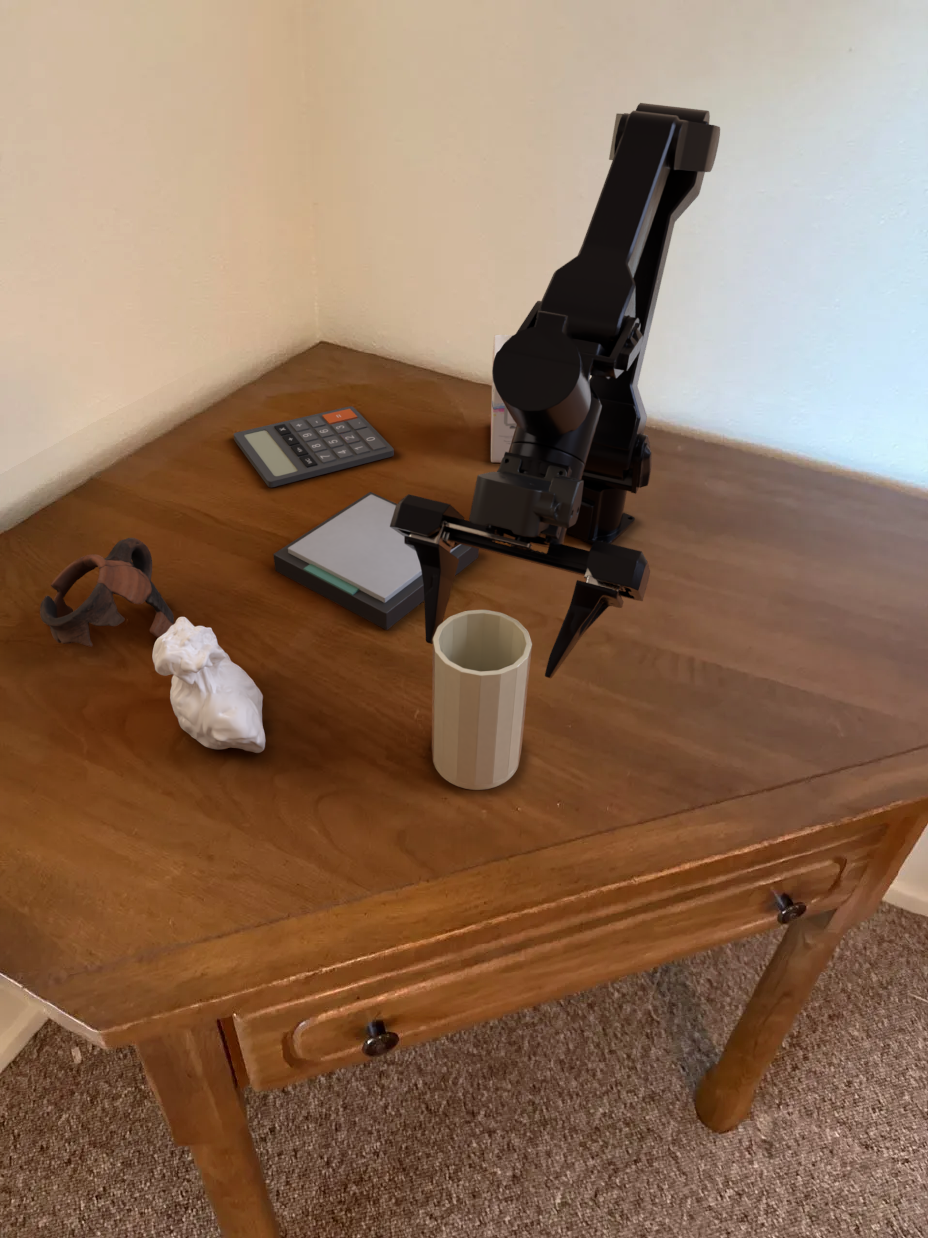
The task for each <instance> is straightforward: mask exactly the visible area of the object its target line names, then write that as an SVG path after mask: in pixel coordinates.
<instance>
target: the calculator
mask: <svg viewBox="0 0 928 1238" xmlns="http://www.w3.org/2000/svg"><path fill="white" fill-rule="evenodd" d="M233 440H234V442H235V443H236V445H237V447H239V449H240V450H241V452H242V453H243V454H244V456H245V457H246V458H247V460H248V461H249V463H250V464H251V465H252V467H253V468H254V469H255V471H256V472H257V473H258V475H259V476H260V478H261V479H262V480H263V482H264V483H265V485H266V486H267V487H268V488H276V487H280V486H283V485H286V484H292V483H295V482H298V481H299V482H300V481H302V480H307V479H310V478H314V477H318V476H322V475H326V474H330V473H333V472H337V471H341V470H345V469H349V468H353V467H357V466H361V465H364V464H368V463H369V464H370V463H373V462H376V461H380V460H383V459H388V458H391V457H394V455H395V449H394V448H393V447H392V445H391V444H390V443H389V442H388V441H387V440H386V439H385V438H384V437H383V436H382V435H381V434H380V433H379V432H378V430H376V429H375V427H373V426H372V424H371V423H370V422H369V421H368V420H366V418H365V417H364V416H363V415H362V414H361V413H360V412H359V411H358V410H357V409H356V408H355V407H354V406H352V405H351V406H345V407H341V408H335V409H332V410H328V411H324V412H320V413H315V414H311V415H307V416H302V417H298V418H293V419H288V420H285V421H281V422H276V423H275V422H274V423H271V424H267V425H263V426H259V427H254V428H249V429H245V430H241V431H237V432H234V433H233Z"/></svg>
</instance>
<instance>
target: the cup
mask: <svg viewBox="0 0 928 1238" xmlns="http://www.w3.org/2000/svg"><path fill="white" fill-rule="evenodd" d="M532 649H533V642H532V638H531V635H530V632H529V631H528V629H527V628H525V626H524V625H523V624H522V623H521V622H520V621H519V620H518V619H516V618H514V617H512V616H510V615H507V614H506V613H504V612H501V611H496V610H495V611H494V610H489V609H472V610H471V609H470V610H464V611H461V612H458V613H455V614H452V615H450V616H448V617H447V618H446V619H445V620H443V622H442V623H441V624H440V625H439V626H438V627H437V630H436V632H435V635H434V637H433V644H432V671H431V672H432V673H431V674H432V676H431V677H432V679H431V681H432V685H431V686H432V687H431V689H432V691H431V753H432V754H431V755H432V756H431V757H432V763H433V765H434V768H435V769H436V771H437V773H438V774H439V775H440V776H441V778H443V779H444V780H445V781H446V782H448V783H449V784H452V785H454V786H456V787H458V788H461V789H466V790H473V791H484V790H489V789H494V788H496V787H500V786H502V785H503V784H505V783H506V782H507V781H509V780H510V779H511V778H512V777H513V776H514V775H515V773H516V771H517V770H518V768H519V766H520V760H521V755H522V747H523V739H524V738H523V737H524V727H525V719H526V718H525V717H526V707H527V697H528V690H529V689H528V687H529V678H530V670H531V669H530V668H531V660H532V659H531V657H532Z"/></svg>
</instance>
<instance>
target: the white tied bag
mask: <svg viewBox="0 0 928 1238" xmlns="http://www.w3.org/2000/svg"><path fill="white" fill-rule="evenodd" d="M151 659H152V662H153V665H154V670H155V672H156V673H157V674H158V675H161V676H164V677H165V676H169V675H172V677H171V680H170V681H171V686H170V692H169V694H170V695H169V700H170V704H171V707H172V710H173V713H174V715H175V717H176V718H177V721H178V725H179V726H180V728H181V729H182V730H183V731H184V732H185V733H186V734H188V735H189V736H190V737H191V738H192V739H195V740H196V742H198V743H200V744H201V745H202V746H204V747H205V748H208V749H212V750H227V749H228V748H233V749H240V750H244V751H246V752H252V753H256V754H260V753H262V752H263V751H264V750H265V748H266V734H265V730H264V726H263V725H264V724H263V699H264V695H263V693H262V691H261V689H260V687H258V685H256V682H254V679H252V678H251V677H250V675H249V674H248V673H247V672H246V671H245V670H244V669H243V668H242V667H241V666H239V665H238V664H236V663H234V662H233V661H232V660H231V657H230V656H229V654H228V653H227V652H225V650H224V649H223V648H222V647H221V646H220V645H219V643H218V639H217V635H216V634H215V632H214V631H213V629H212V627H208V626H207V627H205V626H204V625H196V626H195V625H194V624H193V623H192V622H191V621H190V620H189V619H188V618H187V617H185V616H179V617H178V618H177V619H176V620H175V621H174V624H173V625H172V626H171V627H170V628H169V629H168V631H167V632H166V633H164V634H163V635H162V636H160V637H159V638H157V639H156V640H155V642H154V645H153V649H152V657H151Z"/></svg>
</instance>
